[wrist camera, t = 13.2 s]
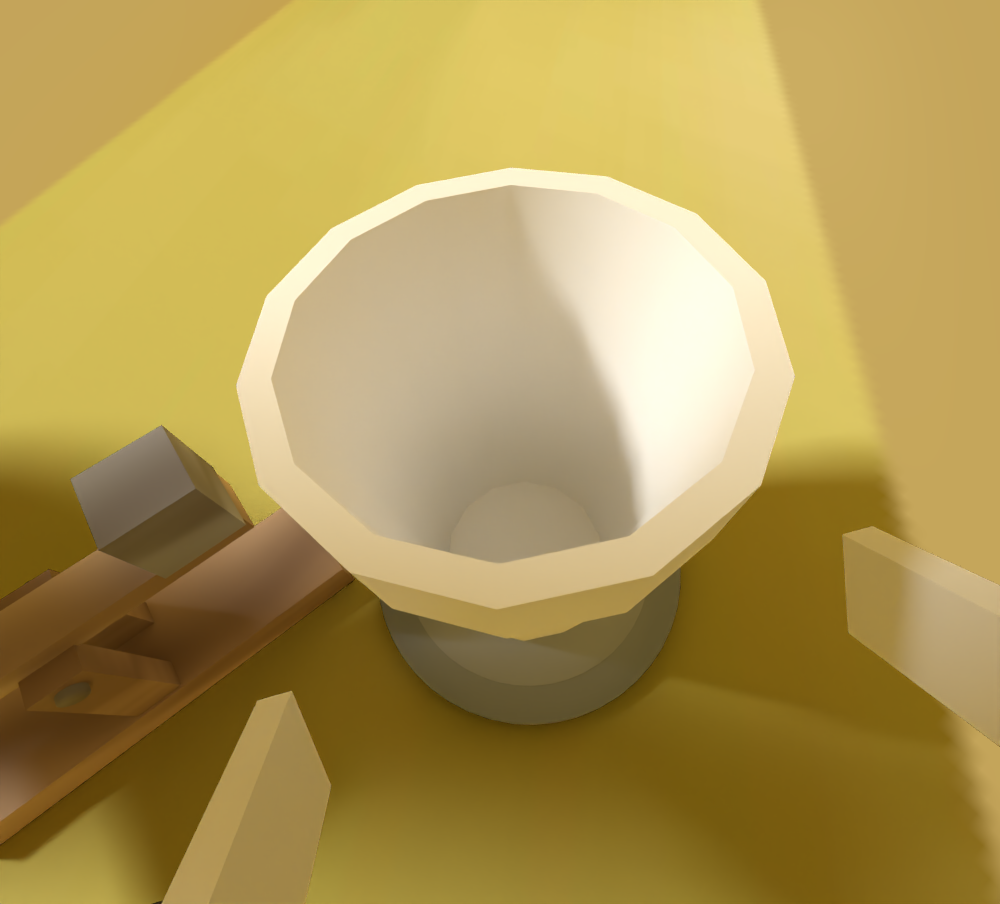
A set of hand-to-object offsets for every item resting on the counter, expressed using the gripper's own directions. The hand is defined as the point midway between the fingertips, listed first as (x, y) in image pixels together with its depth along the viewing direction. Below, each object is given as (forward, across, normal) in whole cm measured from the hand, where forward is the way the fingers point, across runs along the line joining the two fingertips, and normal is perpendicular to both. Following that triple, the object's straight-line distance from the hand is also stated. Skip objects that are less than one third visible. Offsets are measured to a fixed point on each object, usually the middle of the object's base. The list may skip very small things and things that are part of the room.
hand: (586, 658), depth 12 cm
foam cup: (+9, 0, -2) cm, 9 cm away
